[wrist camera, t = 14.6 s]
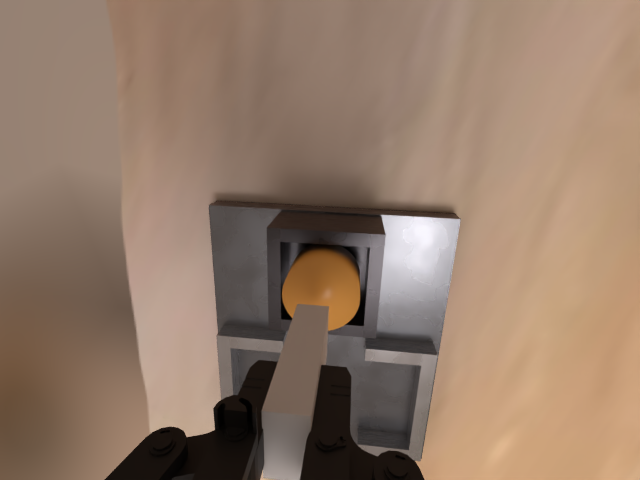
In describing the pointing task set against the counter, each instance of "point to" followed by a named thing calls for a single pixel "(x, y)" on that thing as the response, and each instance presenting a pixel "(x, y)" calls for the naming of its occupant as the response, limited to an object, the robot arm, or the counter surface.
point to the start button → (324, 282)
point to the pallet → (370, 319)
